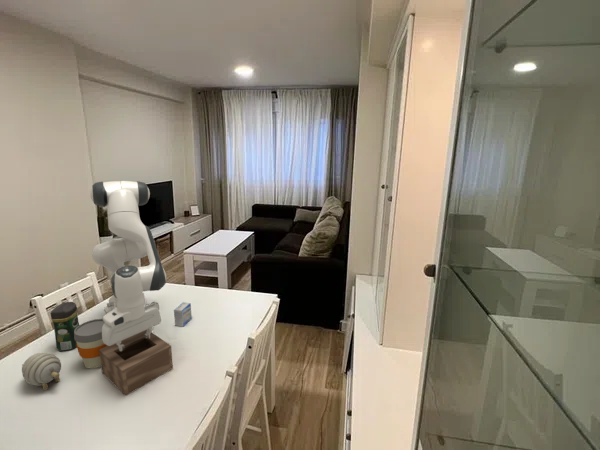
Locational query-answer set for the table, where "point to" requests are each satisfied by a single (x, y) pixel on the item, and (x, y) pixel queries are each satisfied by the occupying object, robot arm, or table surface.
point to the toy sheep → (41, 369)
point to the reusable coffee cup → (90, 342)
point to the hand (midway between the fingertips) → (135, 343)
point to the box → (136, 361)
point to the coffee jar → (65, 325)
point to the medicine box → (182, 314)
